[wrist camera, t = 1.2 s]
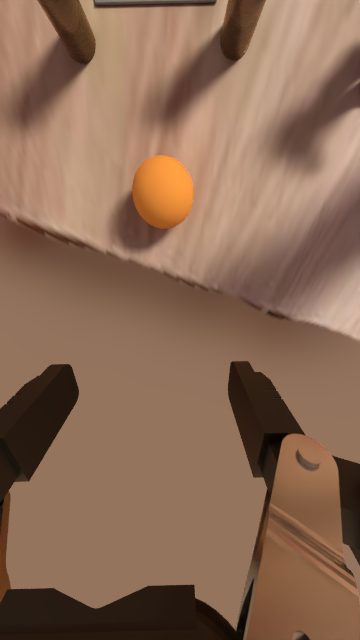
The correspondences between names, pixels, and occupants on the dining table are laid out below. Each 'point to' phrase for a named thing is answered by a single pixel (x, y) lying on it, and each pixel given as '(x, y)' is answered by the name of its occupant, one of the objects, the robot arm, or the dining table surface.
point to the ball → (162, 191)
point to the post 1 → (71, 27)
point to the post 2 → (239, 26)
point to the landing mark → (148, 1)
